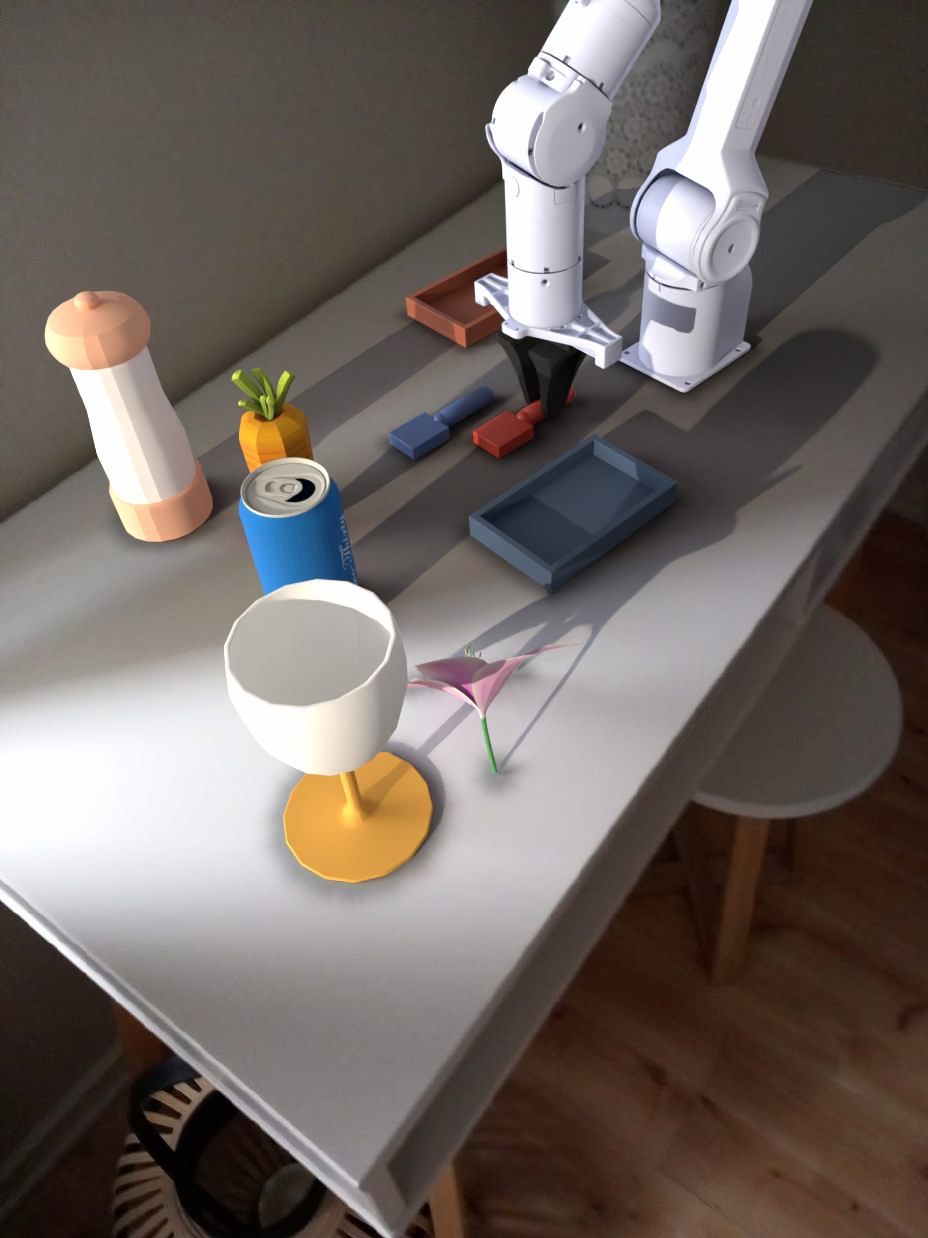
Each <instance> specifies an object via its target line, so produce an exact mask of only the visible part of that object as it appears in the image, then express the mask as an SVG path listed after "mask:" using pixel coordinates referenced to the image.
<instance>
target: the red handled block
mask: <svg viewBox="0 0 928 1238" xmlns="http://www.w3.org/2000/svg"><path fill="white" fill-rule="evenodd" d="M575 397H576V390H575V388H574V387H573V385H572V386H571V389H570V392H569V395H568V398H567V402H566V405H568V404H569V403H571V402H572V401H573V400H574V399H575ZM547 417H548V416H547V415H545V414H544V413H543V411H542V407H541V398H540V399H539V400H537V401H535V402H534V403H532V404H530V405H527V406H525V407H524V408H523V409H520V410H519V411H518V412H517V413H516V414H514V413H513V412H511V411H509V410H505V411H504V412H502V413H501V414H499V415H498V416H496V417H493V418H492V419H490V420H489V421H488V422H486V423H484V424H483V425H481V426H479V427H478V428H476V429H474V430H473V431H472V436H473V437H472V439H473V443H474V444H476V445H477V446H479V447H480V448H481V449H483V450H485V451H487V452H488V453H489V454H491V455H493V456H494V457H496V458H497V459H499V460H500V459H502V458H503V457H504V456H507V455H508V454H509V453H511V452H513V451H514V450H516V449H517V448H519V447H521V446H522V445H523V444H526V443H527V442H528V441H530V440H532V439H533V438H534V436H535V435H534V434H535V433H534V428H535V427H534V425H536V424H537V423H539V422H541V421H542V420H544V419H545V418H547Z"/></svg>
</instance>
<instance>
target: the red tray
mask: <svg viewBox="0 0 928 1238" xmlns="http://www.w3.org/2000/svg"><path fill="white" fill-rule="evenodd" d="M490 273H493V274H496V275H498V276H501V277H504V278H508V263H507V245H505V246H503V247H501V248H499V249H497V250H496V251H493V252H491V253H489V254H487V255H486V256H483V257H481V258H480V259H478V260H476V261H473V262H471V263H470V264H468V265H465V266H463V267H462V268H459V269H458V270H456V271H454V272H452V273H449V274H448V275H446V276H444V277H442V278H440V279H438V280H437V281H435V282H433V283H431V284H428V285H427V286H424V287H423V288H420V289H419V290H417V291H414V292H413V293H411V294H409V295H406V296H405V304H406V313H407V316H408V317H410V318H411V319H414V320H415V321H417V322H419V323H420V324H422V325H424V326H426V327H428V328H429V329H431V330H432V331H435V332H436V333H439V334H440V335H441V336H443V337H445V338H446V339H449V340H450V341H453V342H454V343H455V344H458V345H459V346H462V347H464V348H465V349H468V348H469V347H471V346H473V345H475V344H476V343H478V342H481V341H482V340H483V339H485V338H487V337H489V336H492V335H493V334H494V333H497V331H498V330H499V329H500V328H502V323H503V322H504V321H506V320H505V319H504V318H503V317H502V316H501V314H500V313H499V312H498V311H497V310H496V308H495V307H494V306H493V305H491V304H488V305H487V306H482V305H480V304H478V303H476V298H475V281H477V280H479V279H481V278H483V277H484V276H486V275H488V274H490Z"/></svg>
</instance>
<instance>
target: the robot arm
mask: <svg viewBox="0 0 928 1238" xmlns="http://www.w3.org/2000/svg"><path fill="white" fill-rule="evenodd" d="M813 3H814V0H731V3H730V5H729V8H728V10H727V14H726V17H725V20H724V22H723V26H722V28H721V31H720V35H719V37H718V41H717V42H716V46H715V49H714V52H713V55H712V57H711V61H710V64H709V67H708V70H707V74H706V76H705V79H704V81H703V84H702V87H701V90H700V92H699V93H700V94H699V96H698V99H697V103H696V105H695V108H694V112H693V114H692V117H691V121H690V123H689V125H688V129H687V131H686V133H685V135H684V136H682V137H681V138H679V139H677V140H675V141H674V142H671V143H670V144H668V145H667V146H665V147H663V148H661V150H659V151H658V152H657V154H656V158H655V161H654V163H653V167H652V169H651V171H650V173H649V175H648V176H647V178H646V179H645V181H644V182H643V183H642V185H641V186H640V188H639V189H638V191H637V193H636V194H635V196H634V199H633V201H632V204H631V208H630V213H629V226H630V231H631V233H632V235H633V237H634V238H635V239H636V240H637V241H638V242H639V243H642V245H641V258H642V259H643V260H644V261H645V264H644V265H645V266H644V278H643V279H644V280H643V293H642V304H641V318H640V329H639V340H638V341H637V342H636V343H634V344H632V345H630V346H629V347H628V348H626V349H624V350H623V339H624V338H623V336H622V335H620V334H618V333H616V332H615V331H613V330H612V329H611V328H610V327H608V325H606V324H605V323H604V322H603V320H602V319H600V317H598V316H597V315H596V313H594V311H593V310H592V309H591V308H590V307H589V306H588V305H587V304H586V303H585V302H584V300H583V279H584V278H583V274H584V273H583V272H584V239H585V238H584V235H585V234H584V233H585V195H586V193H585V192H586V174H587V173H588V172H589V171H590V170H591V169H592V168H593V166H594V165H595V163H597V161H599V159H600V158H601V155H602V153H603V150H604V148H605V147H604V146H605V142H606V137H607V125H608V121H609V118H610V116H611V114H612V113H613V110H612V108H613V106H614V102H613V100H614V97H615V96H616V95H617V93H618V92H619V90H620V88H621V86H622V84H623V83H624V81H625V79H626V78H627V76H628V75H629V73H630V72H631V70H632V68H633V67H634V66H635V64H636V61H637V60H638V59H639V57H640V55H641V53H642V52H643V50H644V49H645V48H646V46H647V44H648V42H649V40H650V39H651V37H652V36H653V34H654V32H655V30H656V29H657V28H658V26H659V25H660V22H661V20H662V9H661V0H568V2H567V4H566V6H565V7H564V9H563V11H562V12H561V15H560V16H559V18H558V19H557V22H555V23H556V24H555V25H554V27H553V28H552V30H551V32H550V33H549V35H548V37H547V39H546V40H545V43H544V44H543V46H542V47H541V49H540V52H539V53H538V54H537V56H535V57H534V58H533V60H532V62H531V64H530V65H529V67H528V68H527V71H528V72H527V74H524V75H521V76H519V77H517V80H513V81H512V82H511V83H509V85H507V86H506V87H505V88H504V89H503V90H502V91H501V93H500V94H499V96H498V98H497V100H496V102H495V104H494V107H493V110H492V115H491V121H490V122H489V123H486V125H485V135H486V139H487V142H488V144H489V147H490V148H491V150H492V151H493V152H494V154H496V155H497V157H498V158H499V160H500V162H501V169H502V173H501V174H502V179H503V181H504V200H505V201H504V202H505V203H504V204H505V205H504V206H505V232H506V246H507V263H508V278H504V277H501V276H498V275H496V274H493V273H490V274H488V275H486V276H484V277H483V278H481V279H479V280H477V281H475V298H476V303H478V304H480V305H482V306H487V305H488V304H491V305H493V306H494V307H495V308H496V310H497V311H498V312H499V313H500V314H501V316H502V317H503V318H504V319H505V320H506V321H504V322H503V323H502V328H500V329H499V330H498V331H496V342H498V344H499V345H500V346H501V347H502V349H503V351H504V352H505V354H506V356H507V357H508V358H509V361H510V362H511V365H512V367H513V369H514V371H515V375H516V378H517V381H518V383H519V385H520V389H521V392H522V395H523V398H524V401H525V404H526V405H527V406H529V405H530V404H532V403H534V402H535V401H537V400H539V399H540V398H541V407H542V411H543V413H544V414H545V415H547V417H548V418H549V417H552V416H554V415H555V414H557V413H558V412H560V411H561V410H563V409H564V408H566V405H567V404H566V402H567V398H568V395H569V392H570V389H571V386H572V387H573V383H574V380H575V377H576V375H577V373H578V372H579V370H580V367H581V366H582V364H583V361H584V360H585V358H586V357H587V355H588V356H590V357H592V358H594V364H595V366H597V367H598V368H601V369H603V370H605V369H607V368H608V367H610V366H612V365H614V364H615V363H617V362H618V361H619V362H621V363H623V364H625V365H627V366H629V367H631V368H633V369H635V370H637V371H639V372H640V373H643V374H644V375H646V376H648V377H651V378H652V379H655V380H657V381H659V382H661V383H662V384H665V385H666V386H668V387H670V388H673V389H674V390H676V391H678V392H681V393H688V392H689V391H691V390H693V389H694V388H696V387H697V386H699V385H700V384H701V383H703V382H705V381H706V380H708V379H709V378H710V377H712V376H713V375H715V374H717V373H718V372H720V371H721V370H723V369H724V368H726V367H727V366H729V365H730V364H732V363H733V362H734V361H736V360H737V359H739V358H740V357H742V356H744V355H746V354H747V353H748V352H749V351H750V350H751V347H752V345H751V344H750V343H748V342H747V341H745V340H744V337H745V331H746V326H747V321H748V315H749V314H748V313H749V309H750V303H751V296H752V290H753V275H752V270H751V267H750V265H749V263H750V261H751V260H752V258H753V256H754V254H755V252H756V250H757V247H758V244H759V240H760V237H761V236H760V235H761V223H762V216H763V212H764V209H765V206H766V203H767V201H768V199H769V196H770V193H769V189H768V187H767V184H766V181H765V179H764V176H763V174H762V172H761V169H760V167H759V164H758V162H757V159H756V155H755V154H756V151H757V148H758V146H759V143H760V141H761V138H762V136H763V132H764V130H765V128H766V125H767V122H768V121H769V120H768V119H769V117H770V114H771V112H772V109H773V106H774V103H775V101H776V98H777V96H778V94H779V91H780V88H781V86H782V83H783V80H784V77H785V75H786V72H787V70H788V67H789V65H790V62H791V59H792V57H793V54H794V52H795V49H796V47H797V44H798V41H799V39H800V36H801V33H802V31H803V28H804V25H805V23H806V20H807V18H808V15H809V13H810V10H811V7H812V6H813V5H812V4H813Z"/></svg>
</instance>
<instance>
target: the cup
mask: <svg viewBox="0 0 928 1238" xmlns="http://www.w3.org/2000/svg"><path fill="white" fill-rule="evenodd" d="M223 650H224V651H223V652H224V663H225V674H226V680H227V688H228V694H229V698H230V700H231V702H232V704H233V705H234V707H235V709H236V711H237V713H238V715H239V716H240V719H241V720H242V721H243V722H244V724H245V726H246V727H247V728H248V730H249V732H250V733H251V734H252V735H253V737H254V739H255V740H256V741H257V742H258V743H259V744H260V746H261V747H262V748H264V750H266V751H267V753H269V754H270V755H271V756H272V757H274V758H276V759H278V760H279V761H280V762H283V763H285V764H286V765H289V766H291V767H293V768H294V769H296V770H298V771H301V772H303V773H305V775H304V776H303V777H302V778H301V779H300V781H299V782H298V783H297V784H296V785H295V787H294V788H293V789H292V790H291V791H290V794H289V798H288V801H287V805H286V807H285V810H284V813H283V816H282V819H283V827H284V834H285V843H286V844H287V846H288V847H289V849H290V850H291V852H292V854H293V855H294V856H295V859H296V860H297V861H298V863H299V864H300V866H301V867H304V868H305V869H307V870H309V871H311V872H312V873H313V874H316V875H317V876H319V877H320V878H322V879H324V880H330V881H336V882H337V881H339V882H343V883H353V884H356V883H360V882H364V881H369V880H373V879H377V878H382V877H385V876H387V875H389V874H390V873H391V872H394V871H395V870H396V869H398V868H399V867H401V866H402V865H404V864H406V863H407V862H408V861H410V860H411V859H412V858H413V857H414V855H415V854H416V853H417V851H418V850H419V849H420V847H421V845H423V843H424V841H425V840H426V839H427V837H428V836H429V831H430V828H431V827H430V826H431V824H432V823H431V822H432V818H433V813H434V805H433V801H432V797H431V793H430V789H429V784H428V782H427V781H426V779H425V778H424V777H423V776H422V774H421V773H420V772H419V771H418V769H416V767H415V766H414V765H413V764H412V763H410V762H409V761H406V760H404V759H402V758H400V756H397V755H395V754H392V753H391V752H389V751H382V749H383V748H384V747H385V745H386V744H387V743H388V742H389V740H390V739H391V737H392V735H393V734H394V733H395V731H396V730H397V728H398V726H399V725H398V724H399V720H400V717H401V713H402V710H403V706H404V703H405V696H406V693H407V684H408V683H409V679H408V659H407V658H408V657H407V654H406V650H405V647H404V642H403V639H402V633H401V632H400V629H399V626H398V624H397V622H396V619H395V617H394V614H393V612H392V610H391V609H390V608H389V607H388V606H387V605H386V604H385V603H384V601H382V600H381V598H380V597H379V596H378V595H377V594H376V593H375V592H374V591H372V590H369V589H367V588H364V587H362V586H360V585H359V586H357V585H355V584H353V583H350V582H348V581H337V580H324V579H314V580H309V581H304V582H299V583H295V584H290V585H285V586H283V587H281V588H279V589H277V590H275V591H273V592H271V593H270V594H268V595H266V596H265V595H264V596H262V597H260V598H258V599H256V600H255V601H254V602H253V603H252V604H251V605H249V607H248V608H247V609H246V610H245V611H244V612H243V613H242V614H241V615H240V616H239V617H238V618H237V619H236V620H234V623H233V625H232V628H231V630H230V632H229V634H228V637H227V639H226V641H225V644H224V646H223Z"/></svg>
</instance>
